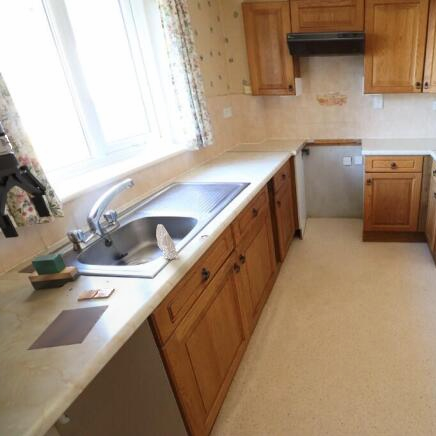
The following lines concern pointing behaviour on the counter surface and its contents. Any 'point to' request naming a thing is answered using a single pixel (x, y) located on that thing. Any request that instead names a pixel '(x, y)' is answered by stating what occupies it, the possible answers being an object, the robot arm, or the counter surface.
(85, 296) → the tan flat block
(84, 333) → the tray
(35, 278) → the brush
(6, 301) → the counter surface
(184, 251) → the counter surface
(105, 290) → the tan wooden block
